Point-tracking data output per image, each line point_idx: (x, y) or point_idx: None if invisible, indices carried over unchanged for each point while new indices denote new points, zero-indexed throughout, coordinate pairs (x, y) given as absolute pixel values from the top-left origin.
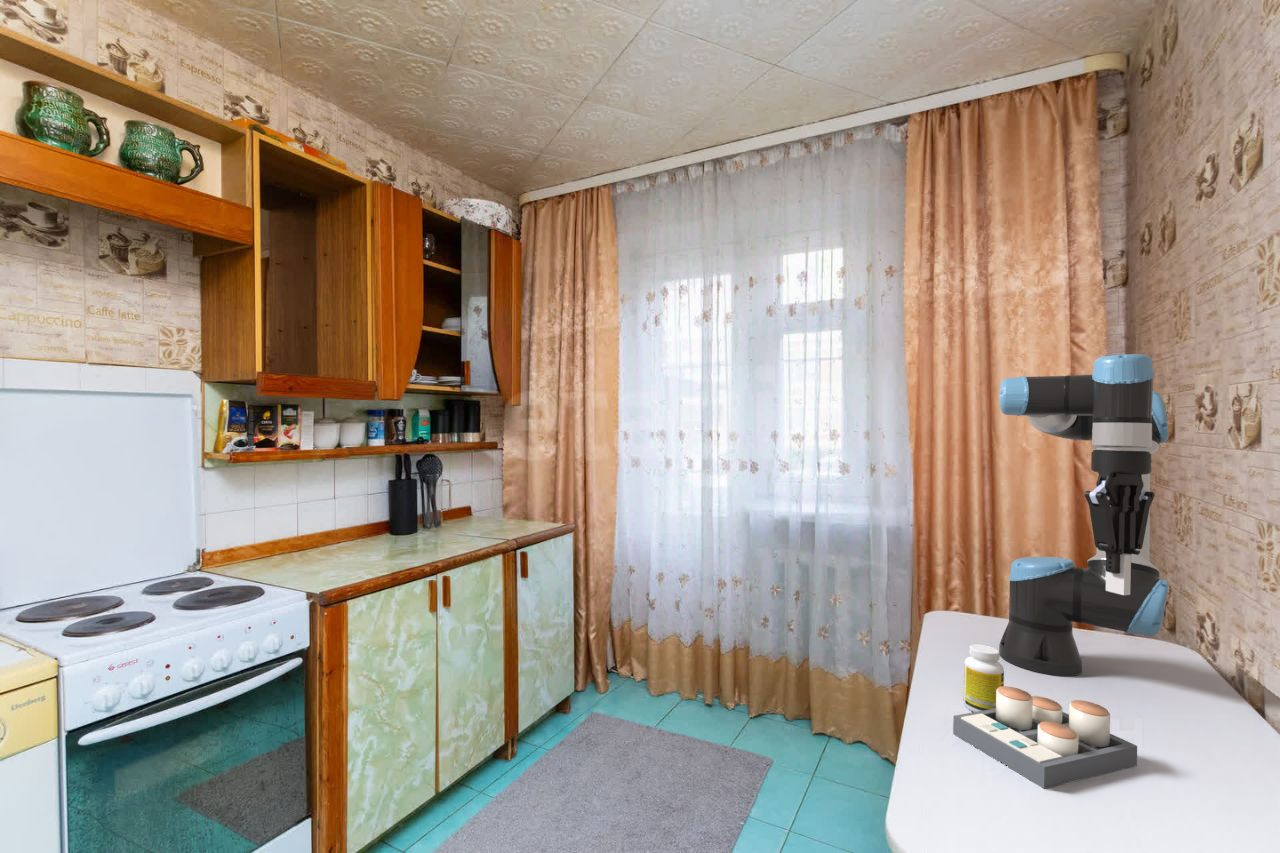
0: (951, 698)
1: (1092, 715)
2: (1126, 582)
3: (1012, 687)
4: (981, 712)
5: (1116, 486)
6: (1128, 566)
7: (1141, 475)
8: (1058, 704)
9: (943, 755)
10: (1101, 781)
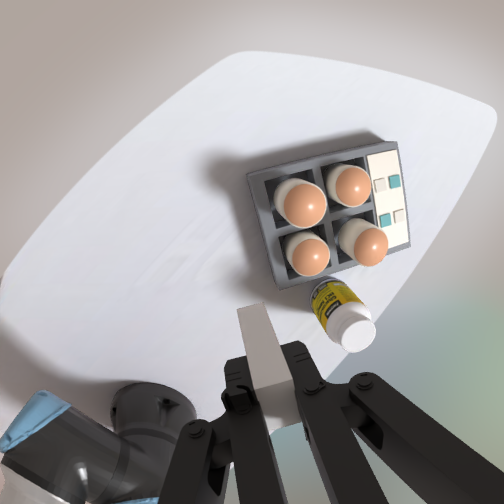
0: None
1: (317, 186)
2: (259, 323)
3: (361, 263)
4: None
5: None
6: (260, 356)
7: None
8: (296, 252)
9: (431, 201)
10: (318, 146)
